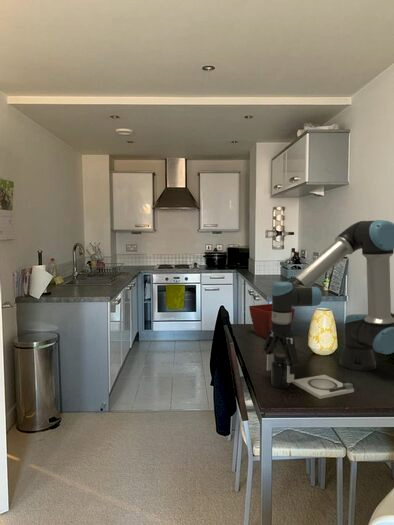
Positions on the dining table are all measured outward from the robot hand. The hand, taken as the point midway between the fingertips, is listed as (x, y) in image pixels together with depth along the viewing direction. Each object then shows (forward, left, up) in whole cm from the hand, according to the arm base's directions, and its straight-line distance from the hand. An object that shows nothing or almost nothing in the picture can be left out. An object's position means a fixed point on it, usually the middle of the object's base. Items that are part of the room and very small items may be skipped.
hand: (279, 375), depth 154 cm
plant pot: (-38, -63, -4) cm, 74 cm away
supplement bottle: (0, 0, -4) cm, 4 cm away
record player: (-14, +8, -4) cm, 17 cm away
